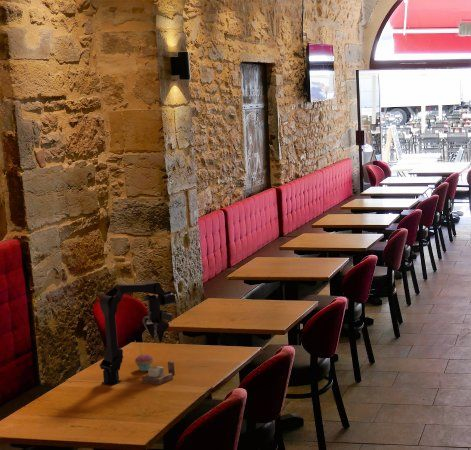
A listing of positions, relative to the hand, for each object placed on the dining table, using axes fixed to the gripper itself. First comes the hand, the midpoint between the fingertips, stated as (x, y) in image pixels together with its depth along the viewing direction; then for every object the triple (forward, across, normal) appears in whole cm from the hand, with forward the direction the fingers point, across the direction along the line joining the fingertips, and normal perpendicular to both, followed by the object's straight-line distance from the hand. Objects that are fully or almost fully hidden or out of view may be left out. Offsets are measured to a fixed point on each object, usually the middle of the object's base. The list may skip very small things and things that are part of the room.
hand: (156, 340), depth 409 cm
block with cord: (+14, -15, +4) cm, 21 cm away
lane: (+14, -17, +8) cm, 23 cm away
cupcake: (+14, +2, +6) cm, 15 cm away
